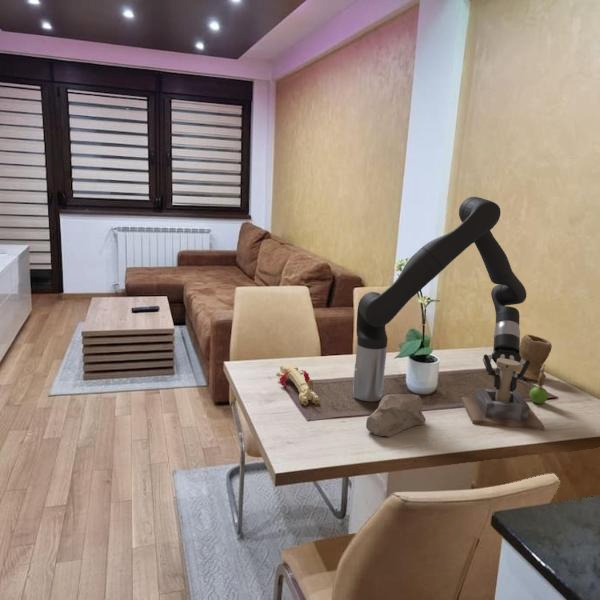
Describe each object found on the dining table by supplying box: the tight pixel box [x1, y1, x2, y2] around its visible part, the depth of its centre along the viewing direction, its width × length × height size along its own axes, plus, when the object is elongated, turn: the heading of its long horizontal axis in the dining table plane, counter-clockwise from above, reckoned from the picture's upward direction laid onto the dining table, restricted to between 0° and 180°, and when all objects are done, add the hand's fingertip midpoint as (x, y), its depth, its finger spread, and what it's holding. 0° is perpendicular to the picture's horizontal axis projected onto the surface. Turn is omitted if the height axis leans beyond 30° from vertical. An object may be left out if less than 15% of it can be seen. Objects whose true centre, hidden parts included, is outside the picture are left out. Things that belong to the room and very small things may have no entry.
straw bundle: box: [275, 363, 321, 405], centre depth 168 cm, size 10×9×25 cm
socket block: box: [460, 387, 545, 431], centre depth 158 cm, size 20×16×6 cm
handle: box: [495, 358, 520, 402], centre depth 156 cm, size 5×6×15 cm
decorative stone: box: [365, 393, 426, 438], centre depth 145 cm, size 20×8×10 cm, turn 128°
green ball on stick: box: [528, 364, 549, 405], centre depth 167 cm, size 5×6×12 cm
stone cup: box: [516, 334, 553, 381], centre depth 191 cm, size 15×12×15 cm
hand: (505, 389), depth 154 cm, fingers closed on handle, 3 cm apart
